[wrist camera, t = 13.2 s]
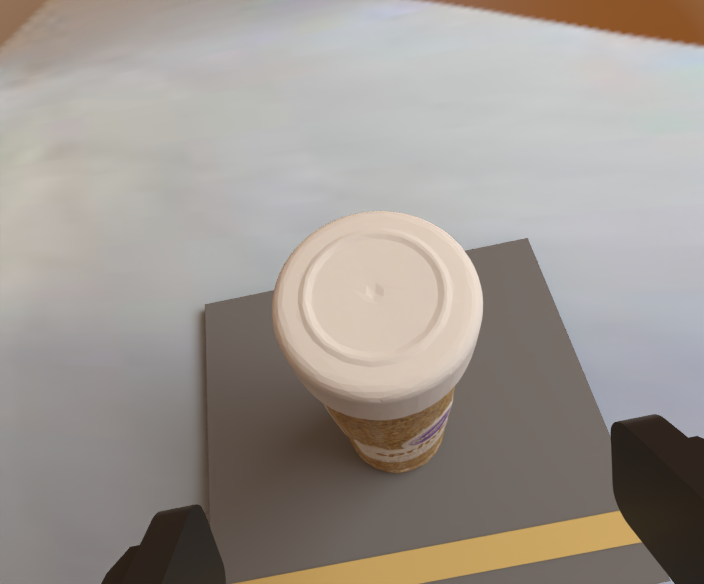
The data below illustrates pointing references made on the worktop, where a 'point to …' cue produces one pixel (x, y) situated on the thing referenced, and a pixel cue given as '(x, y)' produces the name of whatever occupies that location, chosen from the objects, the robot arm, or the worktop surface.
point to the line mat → (429, 479)
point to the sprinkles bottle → (380, 330)
